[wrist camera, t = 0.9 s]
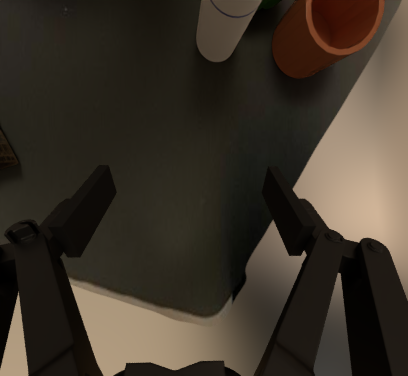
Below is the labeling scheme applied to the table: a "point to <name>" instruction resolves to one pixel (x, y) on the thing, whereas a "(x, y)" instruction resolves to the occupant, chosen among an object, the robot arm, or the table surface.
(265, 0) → the bell pepper
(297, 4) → the crock
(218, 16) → the cylindrical container
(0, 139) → the beverage carton
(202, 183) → the table surface
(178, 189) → the table surface
